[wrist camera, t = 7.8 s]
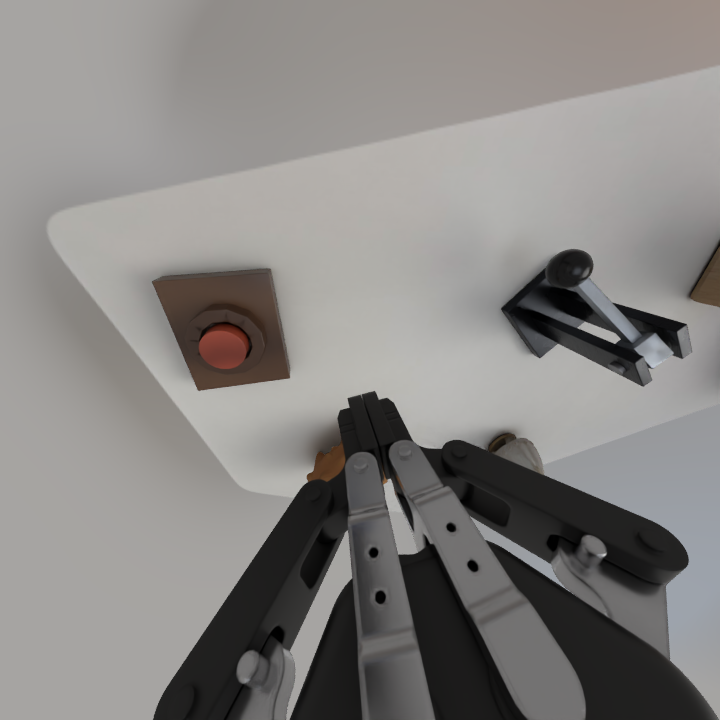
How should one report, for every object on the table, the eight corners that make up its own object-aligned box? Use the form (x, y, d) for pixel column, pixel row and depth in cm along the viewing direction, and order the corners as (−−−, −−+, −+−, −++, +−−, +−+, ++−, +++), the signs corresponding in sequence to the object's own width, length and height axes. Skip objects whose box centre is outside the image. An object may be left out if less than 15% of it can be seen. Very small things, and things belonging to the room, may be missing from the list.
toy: (392, 434, 42) (416, 491, 34) (327, 473, 43) (335, 537, 35) (364, 402, 38) (384, 458, 29) (294, 447, 39) (293, 513, 31)
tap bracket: (500, 309, 35) (605, 359, 23) (559, 255, 33) (707, 280, 21) (533, 354, 40) (631, 414, 28) (585, 310, 38) (716, 356, 26)
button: (198, 325, 24) (191, 333, 23) (243, 321, 25) (239, 328, 24) (211, 362, 26) (206, 371, 25) (253, 357, 27) (250, 366, 26)
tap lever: (530, 272, 27) (550, 268, 24) (560, 245, 26) (586, 236, 23) (619, 366, 28) (651, 376, 25) (651, 343, 27) (689, 349, 24)
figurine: (497, 425, 46) (574, 507, 34) (526, 428, 49) (607, 506, 36) (476, 457, 50) (537, 542, 37) (503, 459, 52) (570, 540, 39)
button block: (162, 276, 25) (141, 286, 22) (270, 268, 27) (266, 276, 23) (203, 380, 31) (192, 401, 28) (290, 368, 33) (289, 387, 29)
